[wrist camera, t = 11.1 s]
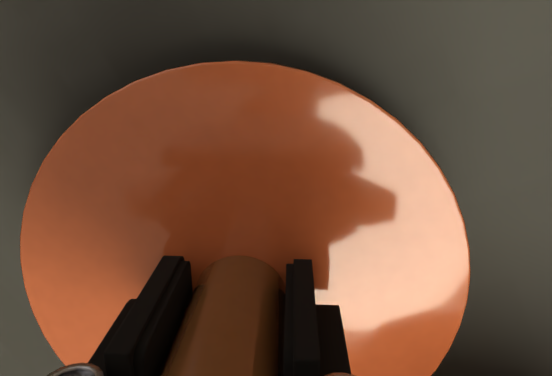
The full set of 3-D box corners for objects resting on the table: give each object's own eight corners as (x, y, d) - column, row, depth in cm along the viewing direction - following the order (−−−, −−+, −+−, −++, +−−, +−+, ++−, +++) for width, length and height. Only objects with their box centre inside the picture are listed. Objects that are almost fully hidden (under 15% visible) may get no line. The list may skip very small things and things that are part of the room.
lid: (0, 57, 11) (-387, 72, 5) (493, 61, 11) (786, 84, 4) (79, 416, 16) (-64, 664, 9) (424, 431, 15) (517, 702, 9)
